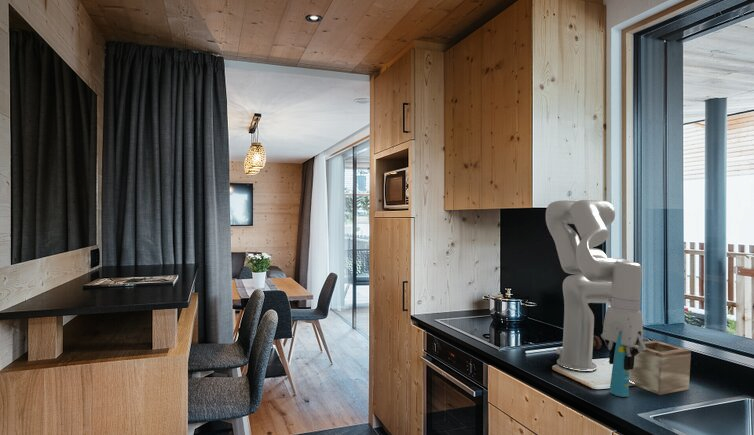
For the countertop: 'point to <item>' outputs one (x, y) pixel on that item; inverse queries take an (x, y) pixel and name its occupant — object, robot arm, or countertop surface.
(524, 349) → the countertop surface
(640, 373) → the box
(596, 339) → the brown oblong piece
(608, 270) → the robot arm
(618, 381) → the tube
